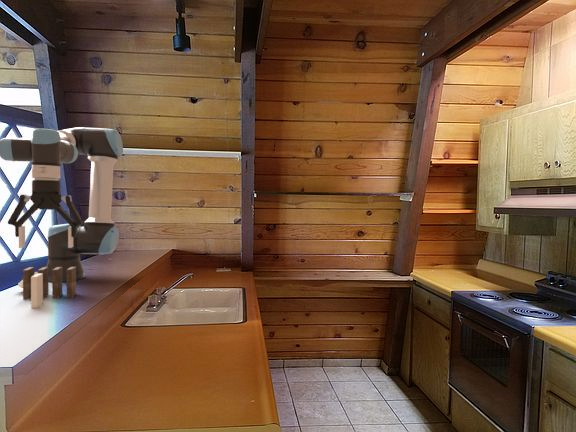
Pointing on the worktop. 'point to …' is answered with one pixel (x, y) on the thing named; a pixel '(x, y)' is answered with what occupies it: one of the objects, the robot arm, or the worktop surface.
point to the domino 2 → (36, 290)
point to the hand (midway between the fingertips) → (46, 247)
